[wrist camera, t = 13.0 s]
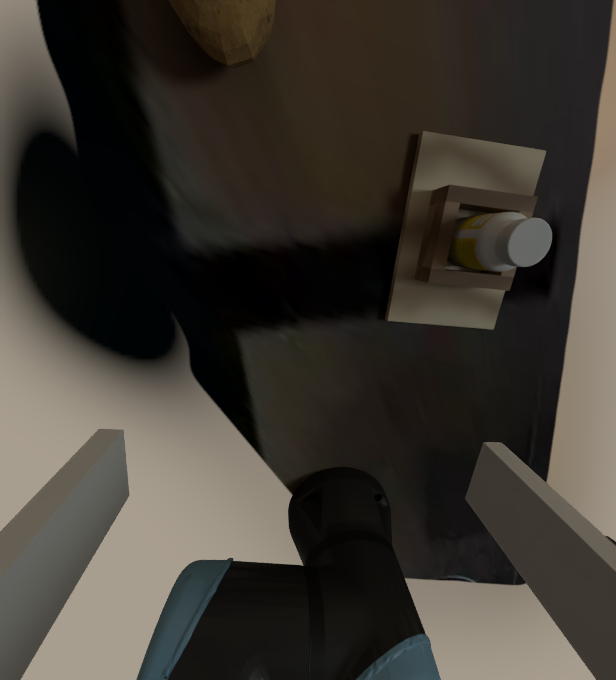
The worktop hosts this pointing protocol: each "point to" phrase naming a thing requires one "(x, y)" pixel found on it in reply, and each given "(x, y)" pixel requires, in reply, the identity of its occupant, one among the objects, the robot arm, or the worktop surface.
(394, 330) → the worktop surface
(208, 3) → the potato
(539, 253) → the supplement bottle
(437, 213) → the collar board
